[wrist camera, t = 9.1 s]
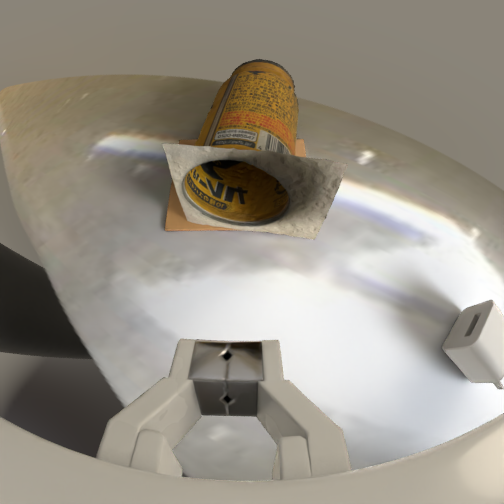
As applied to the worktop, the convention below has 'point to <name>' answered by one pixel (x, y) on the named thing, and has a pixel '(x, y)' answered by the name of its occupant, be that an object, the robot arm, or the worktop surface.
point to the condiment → (254, 160)
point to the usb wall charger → (478, 343)
